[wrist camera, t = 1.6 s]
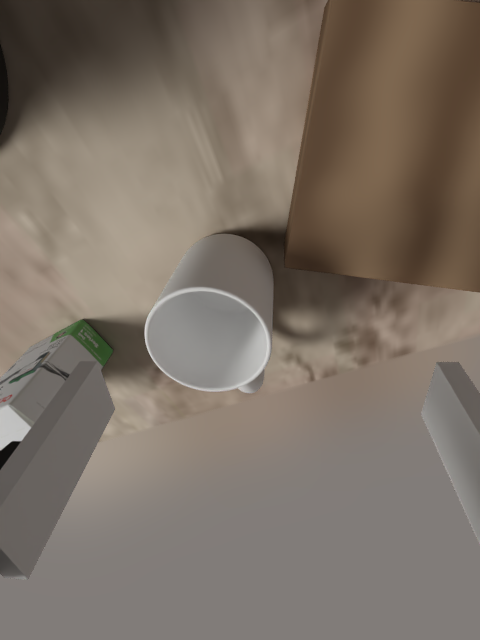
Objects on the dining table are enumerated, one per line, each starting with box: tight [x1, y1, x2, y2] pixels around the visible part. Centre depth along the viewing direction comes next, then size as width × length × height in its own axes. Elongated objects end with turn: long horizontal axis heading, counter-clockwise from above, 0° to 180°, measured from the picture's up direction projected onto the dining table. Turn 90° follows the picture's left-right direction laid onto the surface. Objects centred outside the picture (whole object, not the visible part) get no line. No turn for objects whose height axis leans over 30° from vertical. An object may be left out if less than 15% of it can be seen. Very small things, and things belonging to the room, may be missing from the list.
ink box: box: [0, 320, 113, 451], centre depth 33 cm, size 9×5×12 cm, turn 120°
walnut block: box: [284, 0, 480, 292], centre depth 23 cm, size 15×15×5 cm
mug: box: [145, 234, 274, 393], centre depth 28 cm, size 12×8×10 cm
